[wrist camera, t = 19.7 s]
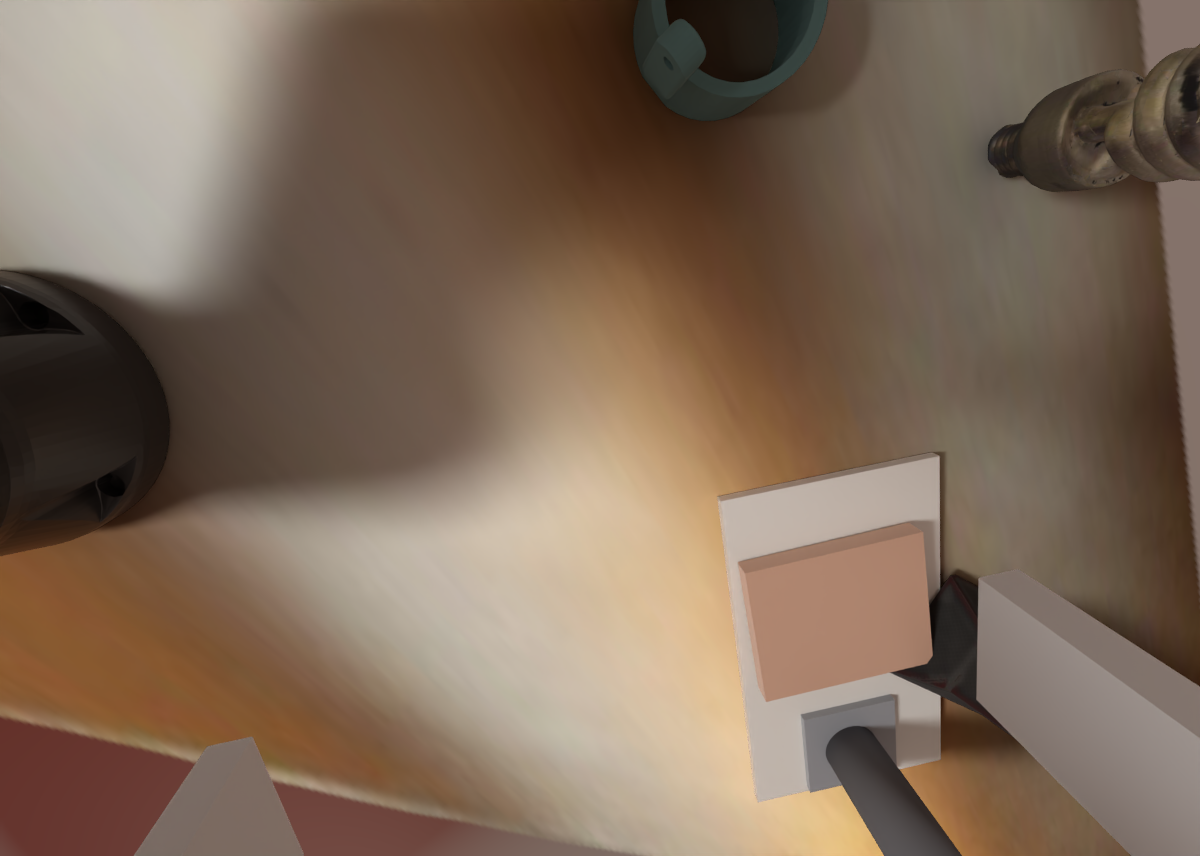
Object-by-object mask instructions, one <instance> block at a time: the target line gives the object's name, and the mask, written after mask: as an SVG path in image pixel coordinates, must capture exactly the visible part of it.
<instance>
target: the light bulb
mask: <svg viewBox="0 0 1200 856" xmlns="http://www.w3.org/2000/svg"><path fill="white" fill-rule="evenodd" d="M988 160H989V162H990V163H991V164H992V165H993V166H994V167H995V168H996V169H997V170H998V172H999V175H1001V176H1004V177H1008V178H1011V177H1016V176H1024V177H1025V178H1026V179H1027V180H1028V181H1029V182H1030V183H1031V184H1032V185H1034V186H1036V187H1038V188H1040V189H1043V190H1047V191H1052V192H1060V191H1079V190H1088V189H1092V188H1100V187H1105V186H1109V185H1112V184H1114V183H1117V182H1119V181H1121V180H1123V179H1125V178H1126V177H1128V176H1129V175H1133V176H1135V177H1137V178H1139V179H1141V180H1144V181H1149V182H1168V181H1174V180H1178V179H1182V180H1190V181H1195V180H1200V44H1199V45H1198V46H1197V47H1196V48H1184V49H1182V50H1179V51H1177V52H1174V53H1172V54H1170V55H1168V56H1167V57H1165V58H1164V59H1162V60H1161V61H1160V62H1159V63H1158V64H1157V65H1156V66H1155V67H1154V68H1153V69H1152V70H1151V71H1150V72H1149V74H1148V75H1147V76H1146V78H1145V79H1144V78H1143V77H1142V76H1140V75H1139V74H1137V73H1135V72H1132V71H1128V70H1122V69H1118V70H1111V71H1106V72H1102V73H1099V74H1096V75H1093V76H1090V77H1087V78H1085V79H1082V80H1080V81H1077V82H1074V83H1072V84H1069V85H1067V86H1064V87H1062V88H1060V89H1057V90H1055V91H1053V92H1052V93H1050V94H1049V95H1047V96H1046V97H1045V98H1044V99H1042V100H1041V101H1040V102H1039V103H1038V104H1037V105H1036V106H1035V107H1034V108H1033V109H1032V110H1031V112H1030V113H1029V114H1028V116H1027V117H1026V119H1025V121H1024V122H1023V123H1020V124H1015V125H1006V126H1004V127H1003V128H1002V129H1000V130H999V131H998V132H997V133H996V134H995V135H994V136H993V137H992V138H991V140H990V142H989V145H988Z"/></svg>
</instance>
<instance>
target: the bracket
mask: <svg viewBox="0 0 1200 856" xmlns="http://www.w3.org/2000/svg"><path fill="white" fill-rule="evenodd" d="M773 1H774V4H775V7H776V12H777V18H778V44H777V51H776V55H775V58H774V61H773V65H772V67H771V69H770V71H769V73H768V75H767V76H764V77H762V78H759V79H757V80H752V81H747V82H727V81H724V80H720V79H716V78H714V77H712V76H710V75H708V74H706V73H704V72H702V71H701V70H700V69H698V67H699V66H700V65H701V63H702V62H703V61H704V59H705V56H706V49H705V46H704V44H703V42H702V40H701V38H700V36H699V35H698V33H697V32H696V30H695V29H694V28H693V27H692V26H691V25H690V24H689V23H688V22H687V21H685V20H683V19H678V20H676V21H675V22H673V23H672V24H671V25H669V22H668V18H667V12H666V6H665V0H639V2H638V5H637V9H636V13H635V19H634V28H633V37H634V50H635V55H636V59H637V63H638V66H639V69H640V71H641V74H642V77H643V78H644V79H645V81H646V82H647V83H648V84H649V86H650V87H651V88H652V89H653V91H654V92H655V93H656V95H657V96H658V97H659V98H660V100H661V101H662V102H663V104H664V105H665V106H666V107H668V108H669V109H671V110H672V111H674V112H675V113H677V114H679V115H682V116H684V117H687V118H689V119H695V120H700V121H716V120H720V119H725V118H728V117H731V116H733V115H735V114H738V113H740V112H741V111H743V110H744V109H746V108H747V107H749V106H750V105H752V104H753V103H754V102H756V101H757V100H759V99H760V98H762V97H763V96H764V95H766V94H767V93H769V92H770V91H772V90H773V89H775V88H776V87H777V86H779V85H780V84H782V83H783V82H784V81H785V80H787V79H788V78H789V77H790V76H792V75H793V74H794V73H795V72H796V71H797V70H798V69H799V67H800V66H801V65H802V64H803V63H804V62H805V60H806V59H807V57H808V56H809V54H810V53H811V51H812V50H813V48H814V46H815V44H816V42H817V39H818V37H819V35H820V33H821V30H822V27H823V23H824V20H825V17H826V11H827V4H828V0H773Z"/></svg>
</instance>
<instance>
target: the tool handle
mask: <svg viewBox="0 0 1200 856" xmlns="http://www.w3.org/2000/svg"><path fill="white" fill-rule="evenodd" d="M826 758H827V760H828V762H829V764H830V765H831V767H832V769H833V770H834V772H835V774H836V775H837V777H838V779H839V780H840V782H841V784H842V785H843V787H844V789H845V791H846V792H847V794H848V796H849V797H850V799H851V801H852V802H853V804H854V806H855V807H856V809H857V811H858V812H859V814H860V816H861V817H862V819H863V821H864V822H865V824H866V826H867V828H868V829H869V831H870V833H871V834H872V836H873V838H874V839H875V841H876V843H877V844H878V846H879V848H880V849H881V851H882V853H883V854H884V856H962V855H961V854H960V852H959V851H958V850H957V848H956V847H955V846H954V844H953V843H952V841H951V840H950V839H949V837H948V836H947V835H946V833H945V832H944V830H943V829H942V828H941V826H940V825H939V824H938V822H937V821H936V819H935V818H934V817H933V815H932V814H931V813H930V811H929V810H928V808H927V807H926V806H925V804H924V803H923V801H922V800H921V799H920V797H919V796H918V795H917V793H916V792H915V790H914V789H913V788H912V786H911V785H910V784H909V782H908V781H907V779H906V778H905V777H904V775H903V774H902V773H901V771H900V770H899V768H898V767H897V766H896V764H895V763H894V762H893V760H892V759H891V757H890V756H889V755H888V753H887V752H886V751H885V749H884V748H883V746H882V745H881V744H880V742H879V741H878V740H877V738H876V737H875V735H874V734H873V733H872V732H871V731H870V730H869V729H867V728H865V727H861V726H851V727H847V728H844V729H842V730H840V731H839V732H837V733H836V734H835V735H834V736H833V737H832V738H831V739H830V741H829V742H828V744H827V747H826Z"/></svg>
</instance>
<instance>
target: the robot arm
mask: <svg viewBox="0 0 1200 856" xmlns="http://www.w3.org/2000/svg"><path fill="white" fill-rule="evenodd" d="M168 443H169V416H168V409H167V404H166V400H165V397H164V393H163V390H162V388H161V385H160V382H159V380H158V378H157V376H156V374H155V372H154V370H153V368H152V366H151V364H150V363H149V361H148V359H147V358H146V356H145V355H144V353H143V352H142V351H141V349H140V348H139V346H138V345H137V344H136V343H135V342H134V340H133V339H132V338H131V337H130V336H129V335H128V334H127V333H126V331H125V330H124V329H123V328H122V327H121V326H120V325H118V324H117V323H116V322H115V321H114V320H113V319H112V318H111V317H109V316H108V315H107V314H106V313H105V312H103V311H102V310H100V309H99V308H98V307H96V306H95V305H93V304H92V303H90V302H89V301H87V300H86V299H84V298H82V297H81V296H79V295H77V294H75V293H73V292H71V291H69V290H67V289H65V288H63V287H61V286H58V285H56V284H54V283H51V282H48V281H46V280H43V279H40V278H36V277H33V276H29V275H25V274H20V273H16V272H9V271H0V556H3V555H8V554H13V553H18V552H22V551H27V550H32V549H37V548H42V547H47V546H52V545H56V544H60V543H64V542H67V541H70V540H73V539H75V538H78V537H81V536H83V535H86V534H88V533H90V532H92V531H94V530H96V529H98V528H99V527H101V526H103V525H104V524H106V523H108V522H109V521H111V520H112V519H114V518H116V517H117V516H119V515H121V514H122V513H124V512H125V511H127V510H128V509H130V508H131V507H132V506H133V505H135V504H136V503H137V502H138V501H139V500H140V499H141V498H142V497H143V496H144V495H145V494H146V493H147V492H148V490H149V489H150V488H151V486H152V485H153V484H154V482H155V480H156V479H157V477H158V475H159V473H160V471H161V469H162V467H163V464H164V461H165V458H166V454H167V450H168ZM976 700H977V701H978V702H979V703H980V704H981V705H982V706H983V707H984V708H985V709H986V710H987V711H988V712H989V713H990V714H991V715H992V716H993V717H994V718H995V719H996V720H997V721H998V722H999V723H1000V724H1001V725H1002V726H1003V727H1004V728H1005V729H1006V730H1007V731H1008V732H1009V733H1010V734H1011V735H1012V736H1013V737H1014V738H1015V739H1016V740H1017V741H1018V742H1019V743H1020V744H1021V745H1022V746H1023V747H1024V748H1025V749H1026V750H1027V751H1028V752H1029V753H1030V754H1031V755H1032V756H1033V757H1034V758H1035V759H1036V760H1037V761H1038V762H1039V763H1040V764H1041V765H1042V766H1043V767H1044V768H1045V769H1046V770H1047V771H1048V772H1049V773H1050V774H1051V775H1052V776H1053V777H1054V778H1055V779H1056V780H1057V781H1058V782H1059V783H1060V784H1061V785H1062V786H1063V787H1064V788H1065V789H1066V790H1067V791H1068V792H1069V793H1070V794H1071V795H1072V796H1073V797H1074V798H1075V799H1076V800H1077V801H1078V802H1079V803H1080V804H1081V805H1082V806H1083V807H1084V808H1085V809H1086V810H1087V811H1088V812H1089V813H1090V814H1091V815H1092V816H1093V817H1094V818H1095V819H1096V820H1097V821H1098V822H1099V823H1100V824H1101V825H1102V826H1103V827H1104V828H1105V829H1106V830H1107V832H1108V833H1109V834H1110V835H1111V836H1112V837H1113V838H1114V839H1115V840H1116V841H1117V842H1118V843H1119V844H1120V845H1121V846H1122V847H1123V848H1124V849H1125V850H1126V851H1127V852H1128V853H1129V854H1130V855H1131V856H1200V687H1199V686H1198V685H1196V684H1195V683H1193V682H1192V681H1190V680H1189V679H1187V678H1186V677H1184V676H1182V675H1181V674H1179V673H1178V672H1176V671H1175V670H1173V669H1172V668H1170V667H1169V666H1167V665H1165V664H1164V663H1162V662H1161V661H1159V660H1158V659H1156V658H1155V657H1153V656H1152V655H1150V654H1149V653H1147V652H1145V651H1144V650H1142V649H1141V648H1139V647H1138V646H1136V645H1135V644H1133V643H1132V642H1130V641H1128V640H1127V639H1125V638H1124V637H1122V636H1121V635H1119V634H1118V633H1116V632H1115V631H1113V630H1111V629H1110V628H1108V627H1107V626H1105V625H1104V624H1102V623H1101V622H1099V621H1098V620H1096V619H1095V618H1093V617H1091V616H1090V615H1088V614H1087V613H1085V612H1084V611H1082V610H1081V609H1079V608H1078V607H1076V606H1074V605H1073V604H1071V603H1070V602H1068V601H1067V600H1065V599H1064V598H1062V597H1061V596H1059V595H1058V594H1056V593H1054V592H1053V591H1051V590H1050V589H1048V588H1047V587H1045V586H1044V585H1042V584H1041V583H1039V582H1037V581H1036V580H1034V579H1033V578H1031V577H1030V576H1028V575H1027V574H1025V573H1024V572H1022V571H1021V570H1019V569H1016V570H1012V571H1007V572H1003V573H998V574H994V575H989V576H984V577H980V578H979V585H978V640H977V695H976ZM303 855H304V854H303V851H302V849H301V847H300V844H299V842H298V840H297V837H296V835H295V833H294V831H293V829H292V826H291V824H290V821H289V819H288V817H287V815H286V812H285V810H284V808H283V805H282V803H281V801H280V799H279V796H278V794H277V792H276V790H275V787H274V785H273V783H272V780H271V778H270V776H269V774H268V771H267V769H266V767H265V764H264V762H263V760H262V758H261V755H260V753H259V751H258V748H257V746H256V744H255V742H254V739H253V737H249V738H244V739H240V740H235V741H231V742H226V743H221V744H217V745H212V746H208V747H207V748H206V749H205V750H204V752H203V753H202V755H201V756H200V758H199V759H198V761H197V762H196V764H195V765H194V767H193V768H192V770H191V771H190V773H189V775H188V776H187V777H186V779H185V781H184V782H183V783H182V785H181V786H180V788H179V789H178V791H177V792H176V794H175V795H174V797H173V798H172V800H171V801H170V803H169V804H168V806H167V807H166V809H165V810H164V812H163V813H162V815H161V816H160V818H159V819H158V821H157V822H156V824H155V825H154V827H153V828H152V830H151V831H150V833H149V834H148V836H147V837H146V838H145V840H144V841H143V843H142V844H141V846H140V847H139V849H138V850H137V852H136V854H135V855H134V856H303Z"/></svg>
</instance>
